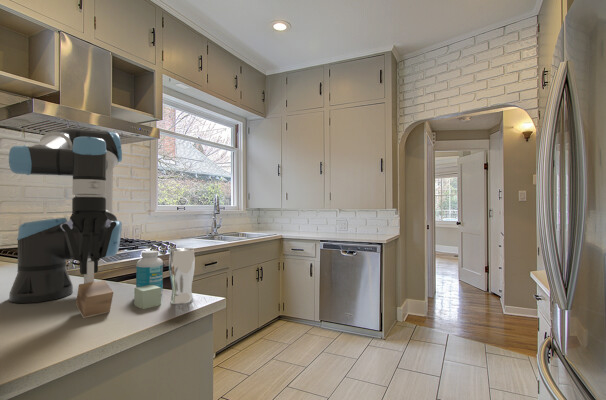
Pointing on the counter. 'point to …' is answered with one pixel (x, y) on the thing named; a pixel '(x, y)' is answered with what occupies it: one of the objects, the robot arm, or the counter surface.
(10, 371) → the counter surface
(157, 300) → the sage block
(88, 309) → the walnut block
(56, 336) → the counter surface
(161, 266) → the pill bottle
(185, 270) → the beer glass
